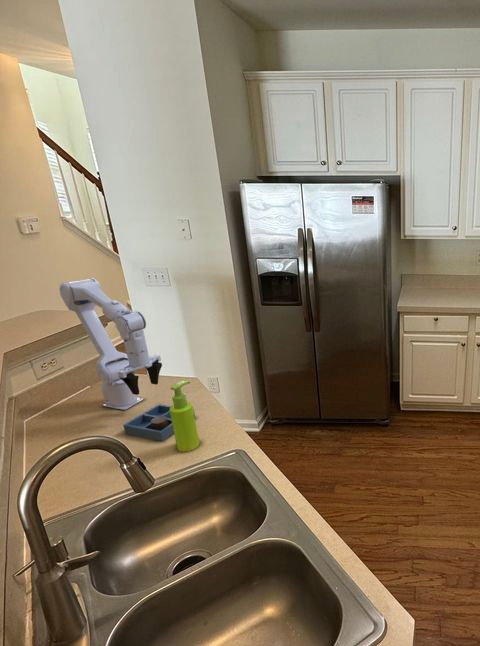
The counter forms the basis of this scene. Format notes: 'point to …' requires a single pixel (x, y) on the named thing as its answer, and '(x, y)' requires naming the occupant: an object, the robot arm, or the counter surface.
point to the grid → (144, 427)
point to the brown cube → (159, 423)
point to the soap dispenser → (183, 420)
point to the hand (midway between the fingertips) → (145, 388)
